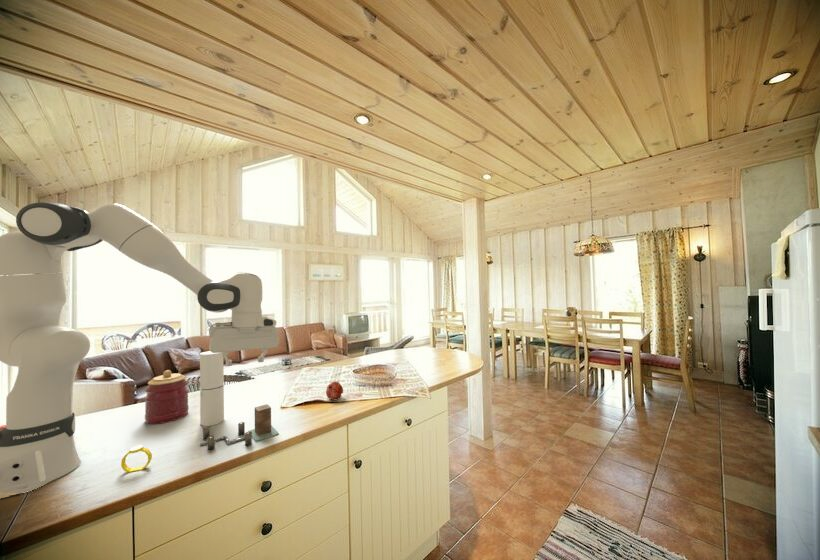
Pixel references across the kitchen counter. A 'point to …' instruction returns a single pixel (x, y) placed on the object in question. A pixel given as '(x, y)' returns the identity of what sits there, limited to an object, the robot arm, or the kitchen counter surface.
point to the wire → (225, 440)
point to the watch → (134, 450)
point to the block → (262, 419)
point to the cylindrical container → (211, 388)
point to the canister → (166, 398)
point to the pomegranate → (334, 390)
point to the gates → (212, 438)
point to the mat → (264, 436)
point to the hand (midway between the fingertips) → (245, 363)
